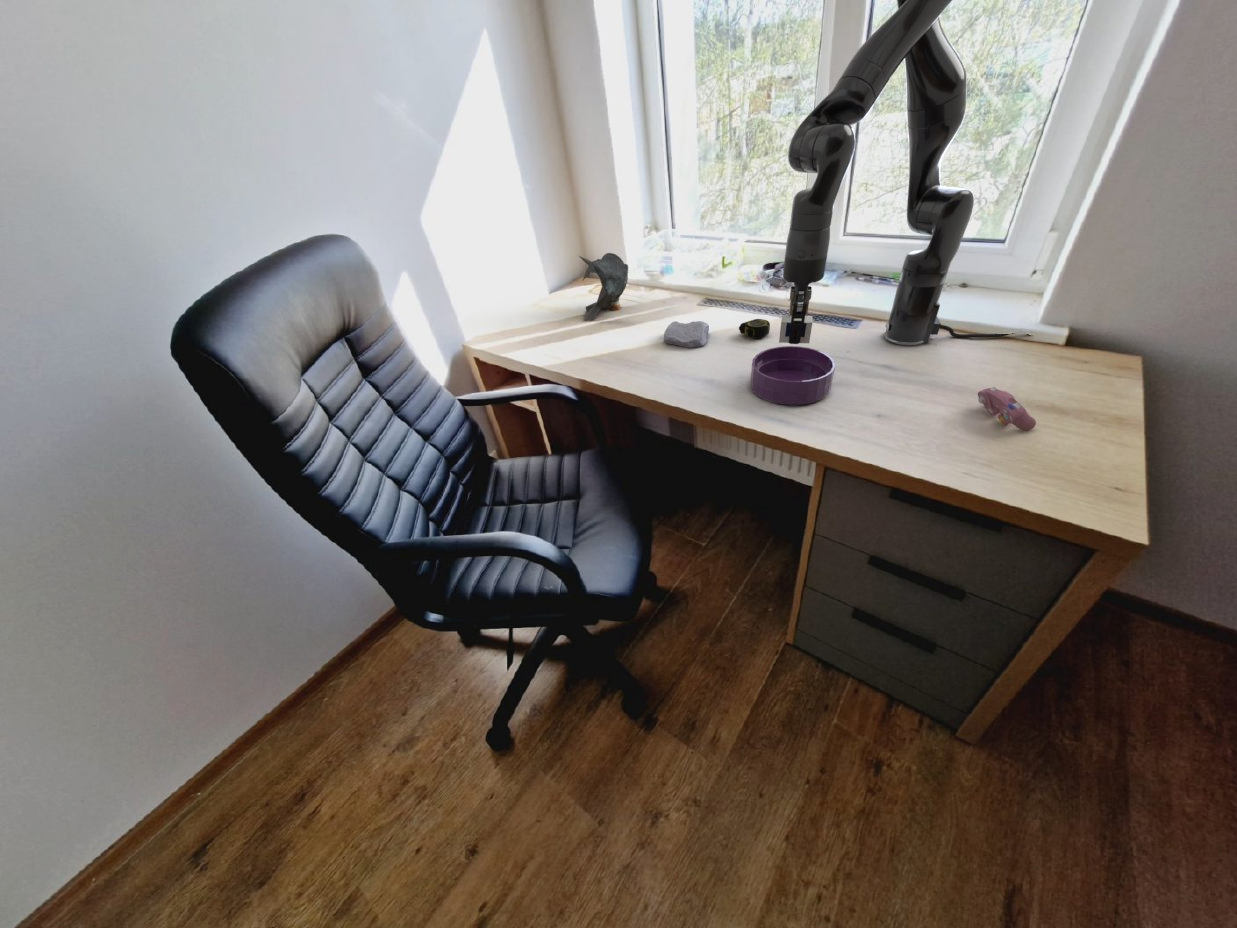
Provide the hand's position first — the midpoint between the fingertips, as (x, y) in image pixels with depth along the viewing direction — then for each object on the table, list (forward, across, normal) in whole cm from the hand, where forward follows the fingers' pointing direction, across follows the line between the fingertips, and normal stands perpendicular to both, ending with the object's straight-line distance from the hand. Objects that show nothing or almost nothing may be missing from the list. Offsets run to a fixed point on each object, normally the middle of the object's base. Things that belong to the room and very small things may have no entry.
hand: (794, 338), depth 99 cm
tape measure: (+12, +28, +10) cm, 32 cm away
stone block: (+12, +23, +28) cm, 38 cm away
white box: (0, 0, 0) cm, 0 cm away
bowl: (+12, 0, 0) cm, 12 cm away
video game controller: (+12, -8, -38) cm, 41 cm away
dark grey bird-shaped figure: (+12, +44, +58) cm, 74 cm away
